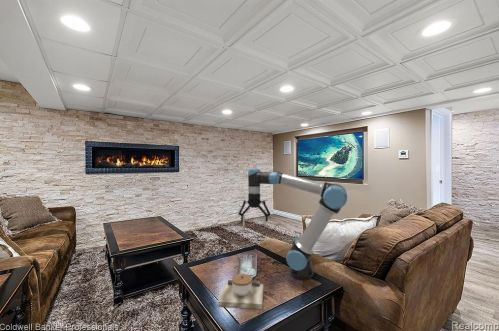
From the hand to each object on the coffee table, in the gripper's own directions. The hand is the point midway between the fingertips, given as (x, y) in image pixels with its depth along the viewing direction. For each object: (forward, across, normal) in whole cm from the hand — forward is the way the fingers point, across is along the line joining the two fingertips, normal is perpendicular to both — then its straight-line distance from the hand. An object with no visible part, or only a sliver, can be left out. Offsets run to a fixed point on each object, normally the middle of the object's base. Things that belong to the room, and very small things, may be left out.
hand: (254, 226), depth 142 cm
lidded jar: (+29, +5, +24) cm, 38 cm away
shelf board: (+32, +5, +23) cm, 39 cm away
